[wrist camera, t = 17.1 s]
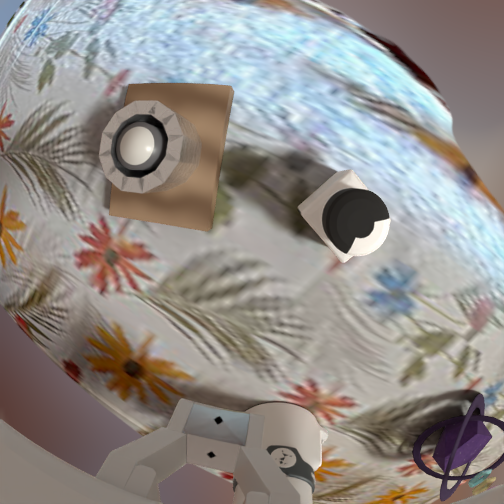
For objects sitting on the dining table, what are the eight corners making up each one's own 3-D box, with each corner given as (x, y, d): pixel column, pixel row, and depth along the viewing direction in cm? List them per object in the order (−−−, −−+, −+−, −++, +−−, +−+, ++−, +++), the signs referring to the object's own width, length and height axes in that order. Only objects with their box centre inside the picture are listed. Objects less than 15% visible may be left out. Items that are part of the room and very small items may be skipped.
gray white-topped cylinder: (175, 172, 33) (154, 171, 27) (138, 169, 33) (113, 168, 27) (181, 131, 31) (162, 122, 26) (144, 129, 32) (120, 121, 26)
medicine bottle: (295, 207, 36) (303, 219, 24) (337, 170, 34) (365, 165, 23) (332, 249, 37) (354, 280, 25) (373, 213, 35) (411, 228, 23)
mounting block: (212, 228, 37) (207, 231, 35) (118, 213, 38) (109, 215, 36) (234, 91, 33) (231, 85, 31) (137, 88, 34) (128, 84, 31)
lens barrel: (194, 194, 34) (174, 197, 27) (125, 185, 35) (95, 187, 28) (207, 116, 32) (189, 101, 25) (136, 113, 32) (108, 101, 25)
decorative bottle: (493, 419, 42) (534, 484, 18) (424, 467, 46) (449, 541, 22) (483, 372, 39) (545, 452, 15) (397, 433, 44) (429, 533, 19)
